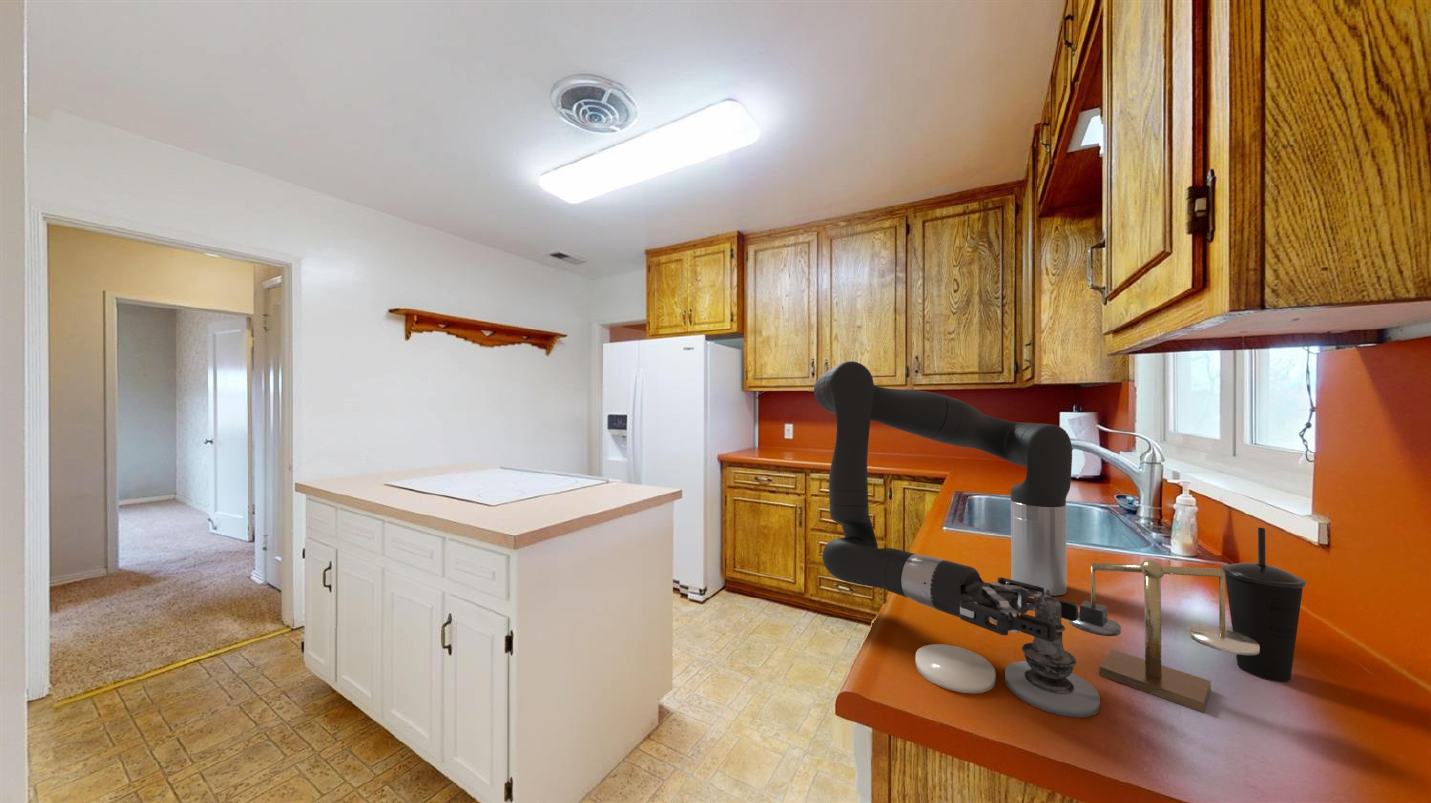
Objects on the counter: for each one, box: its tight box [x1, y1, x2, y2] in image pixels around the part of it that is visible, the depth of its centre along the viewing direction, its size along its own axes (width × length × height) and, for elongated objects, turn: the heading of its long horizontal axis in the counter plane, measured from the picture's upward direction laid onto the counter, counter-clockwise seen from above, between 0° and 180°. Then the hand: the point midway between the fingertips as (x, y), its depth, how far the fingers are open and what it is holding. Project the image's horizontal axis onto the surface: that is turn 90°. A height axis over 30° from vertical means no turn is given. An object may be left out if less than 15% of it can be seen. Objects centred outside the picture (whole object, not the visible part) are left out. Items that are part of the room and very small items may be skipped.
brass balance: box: [1067, 559, 1260, 713], centre depth 63 cm, size 7×19×17 cm, turn 38°
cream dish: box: [914, 643, 996, 694], centre depth 66 cm, size 10×10×1 cm
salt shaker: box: [1021, 589, 1077, 694], centre depth 61 cm, size 6×6×12 cm
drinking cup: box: [1221, 527, 1307, 683], centre depth 65 cm, size 8×8×20 cm
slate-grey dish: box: [1004, 660, 1101, 718], centre depth 61 cm, size 10×10×1 cm
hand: (1066, 622), depth 59 cm, fingers open, 8 cm apart
